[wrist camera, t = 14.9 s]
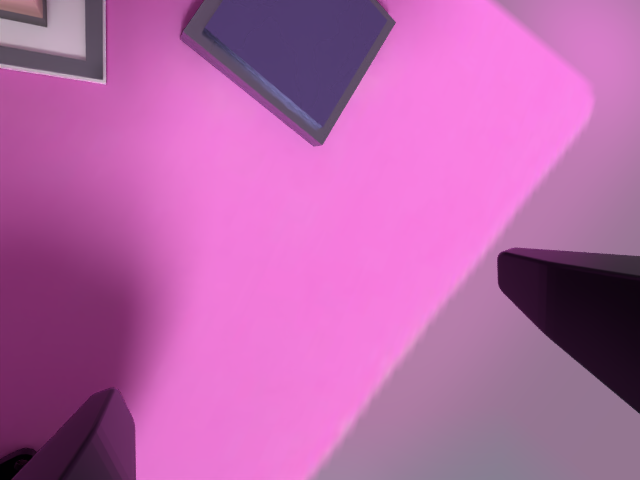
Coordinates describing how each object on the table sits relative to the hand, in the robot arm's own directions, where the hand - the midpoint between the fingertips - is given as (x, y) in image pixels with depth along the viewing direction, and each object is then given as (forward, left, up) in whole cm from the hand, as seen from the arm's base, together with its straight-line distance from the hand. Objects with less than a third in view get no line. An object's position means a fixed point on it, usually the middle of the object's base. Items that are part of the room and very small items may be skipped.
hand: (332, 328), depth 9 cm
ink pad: (+7, +9, -12) cm, 17 cm away
